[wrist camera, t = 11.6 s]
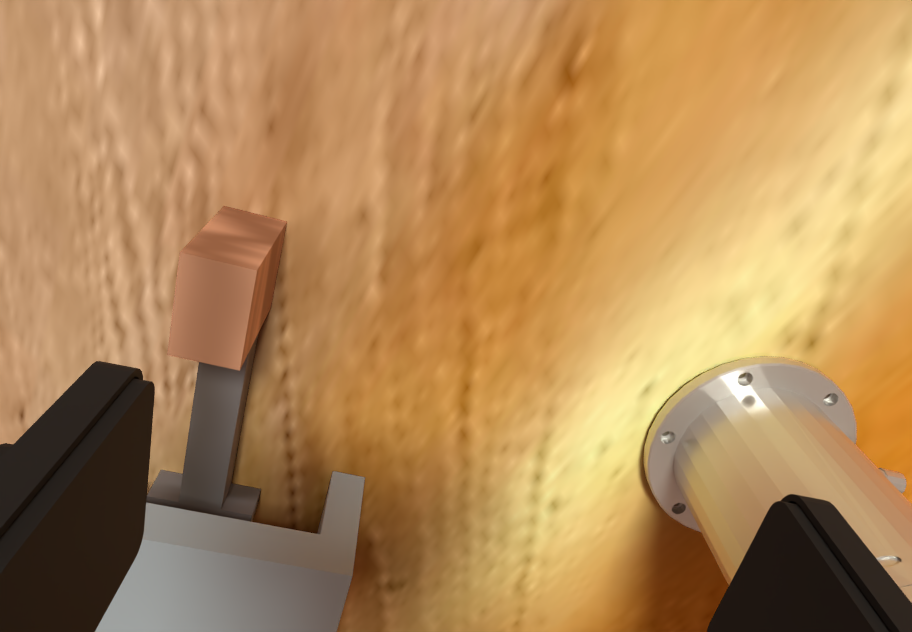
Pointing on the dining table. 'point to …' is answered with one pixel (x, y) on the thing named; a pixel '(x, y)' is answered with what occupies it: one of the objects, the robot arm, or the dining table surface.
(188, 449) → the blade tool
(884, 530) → the robot arm
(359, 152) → the dining table surface
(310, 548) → the bridge block
